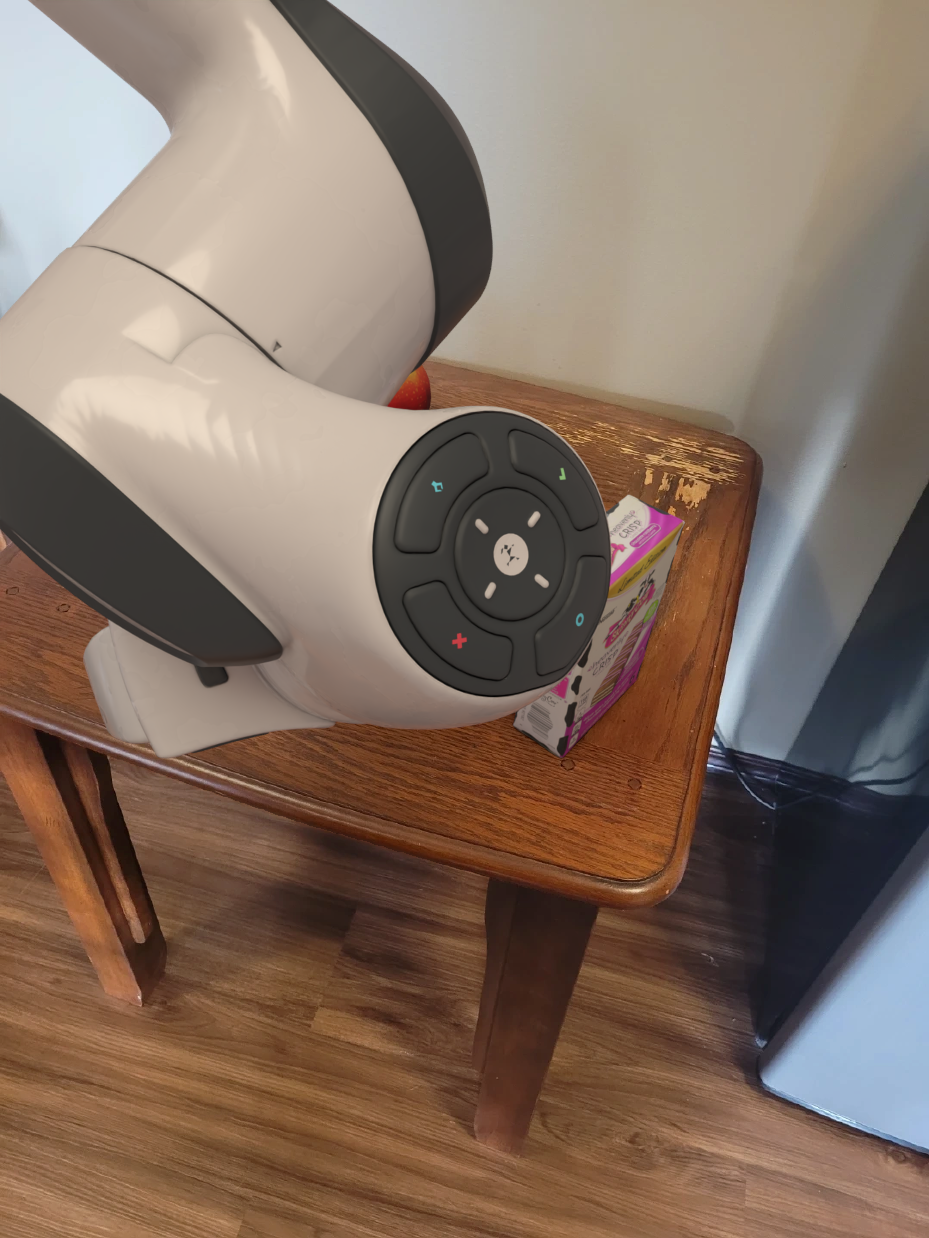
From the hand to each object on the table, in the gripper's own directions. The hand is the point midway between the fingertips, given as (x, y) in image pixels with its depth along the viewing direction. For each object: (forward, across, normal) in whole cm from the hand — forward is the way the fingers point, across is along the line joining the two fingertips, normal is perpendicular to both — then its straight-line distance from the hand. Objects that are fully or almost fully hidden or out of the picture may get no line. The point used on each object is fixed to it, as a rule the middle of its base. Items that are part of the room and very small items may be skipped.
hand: (283, 636), depth 48 cm
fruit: (+42, -26, -19) cm, 53 cm away
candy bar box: (+11, -22, +12) cm, 28 cm away
